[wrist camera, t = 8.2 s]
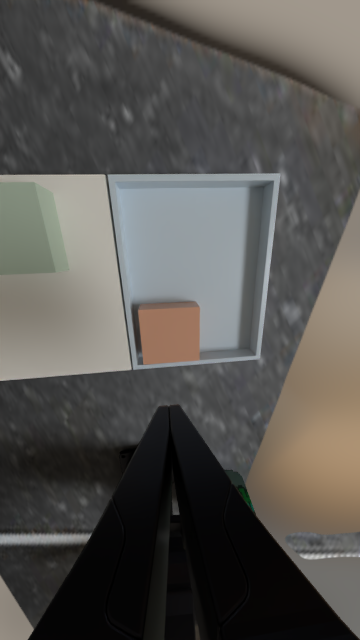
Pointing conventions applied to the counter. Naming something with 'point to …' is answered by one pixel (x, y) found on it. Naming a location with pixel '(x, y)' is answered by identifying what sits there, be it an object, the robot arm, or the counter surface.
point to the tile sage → (29, 230)
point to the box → (197, 254)
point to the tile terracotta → (170, 332)
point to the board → (68, 292)
